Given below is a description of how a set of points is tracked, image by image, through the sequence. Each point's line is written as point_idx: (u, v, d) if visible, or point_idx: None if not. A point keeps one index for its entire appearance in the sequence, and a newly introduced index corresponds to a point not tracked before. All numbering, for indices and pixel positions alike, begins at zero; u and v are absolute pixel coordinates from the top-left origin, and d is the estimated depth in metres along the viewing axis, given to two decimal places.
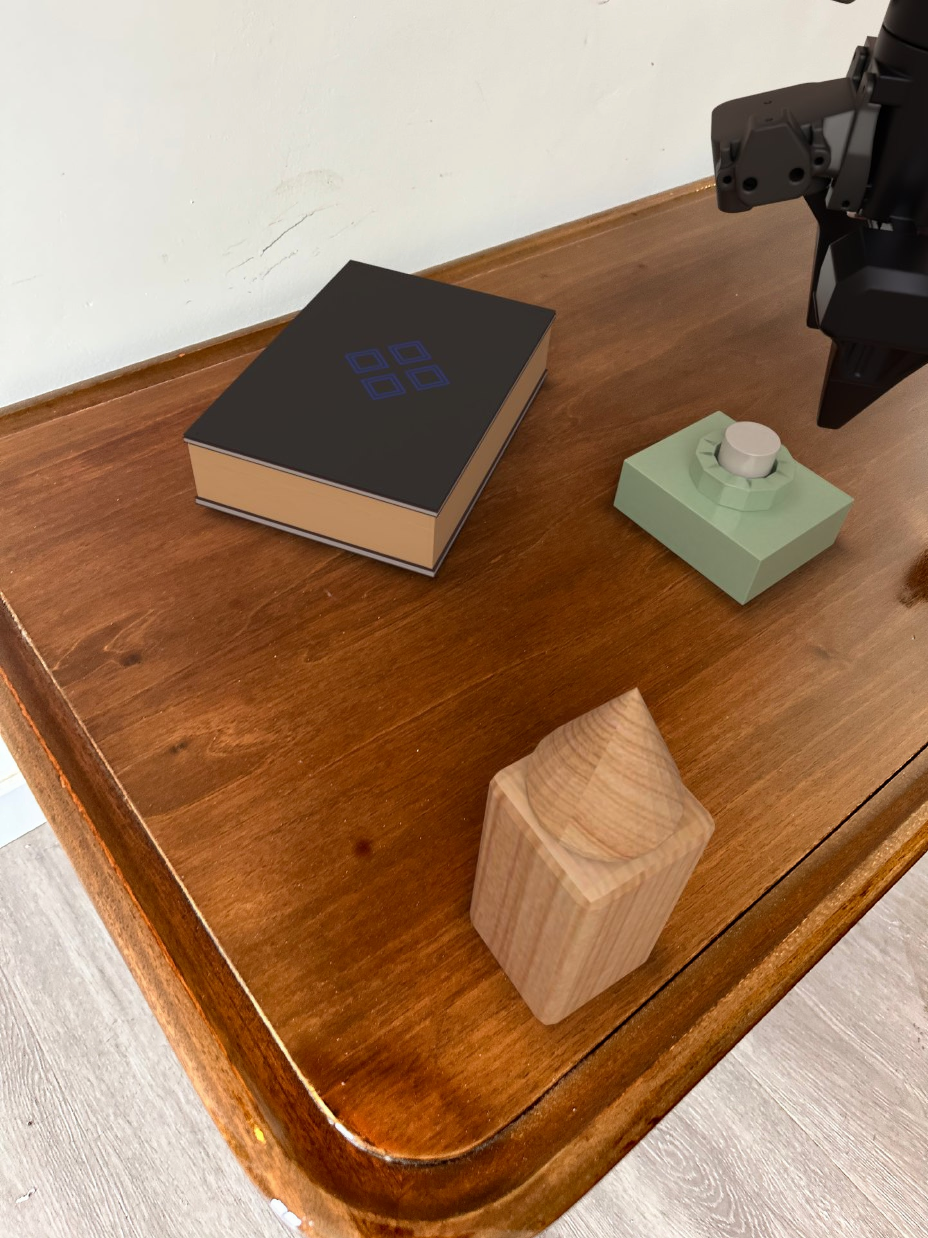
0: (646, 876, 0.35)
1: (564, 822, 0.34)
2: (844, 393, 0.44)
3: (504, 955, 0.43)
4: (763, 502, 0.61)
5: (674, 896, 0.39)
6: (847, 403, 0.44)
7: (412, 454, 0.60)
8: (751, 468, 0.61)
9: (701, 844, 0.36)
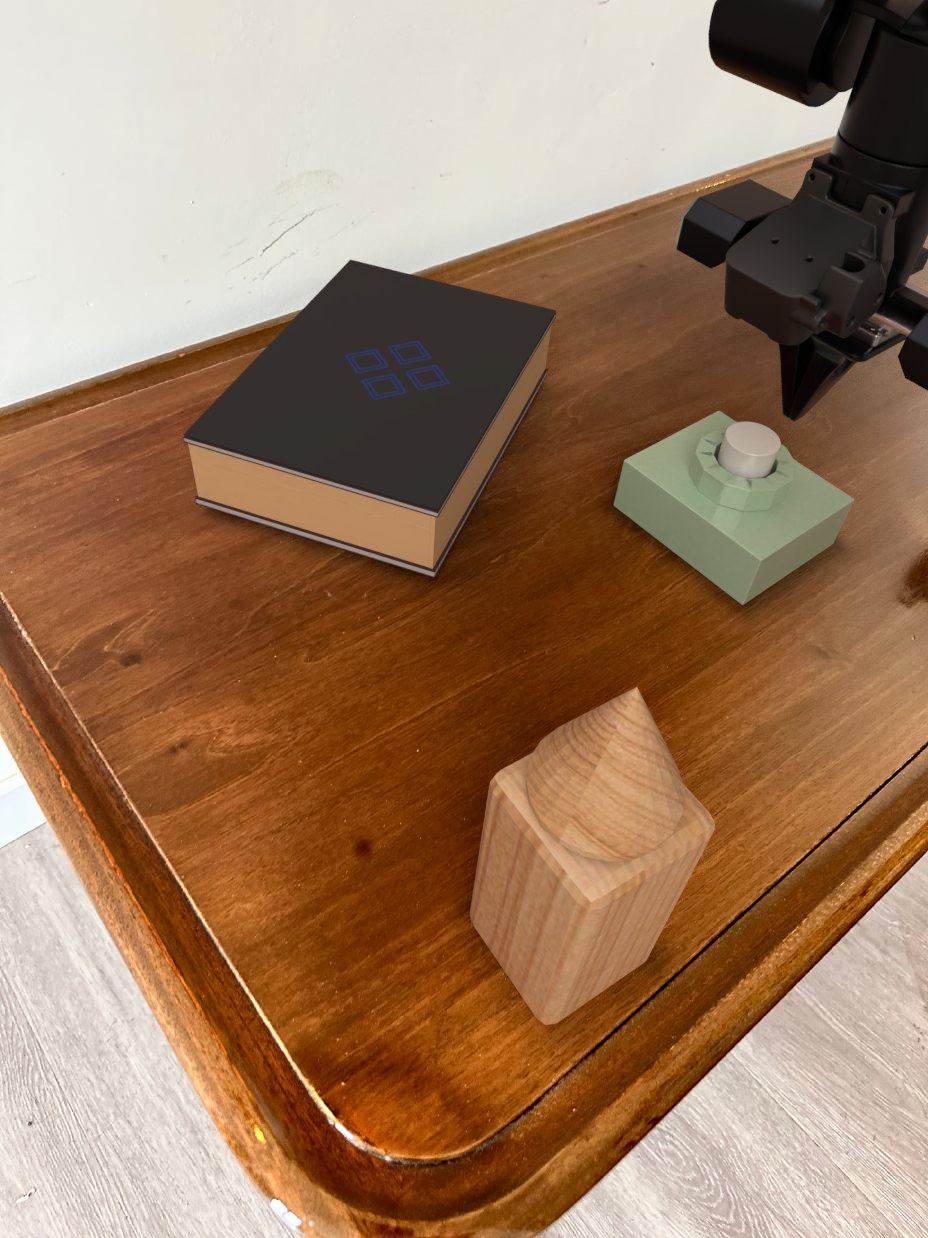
0: (646, 875, 0.35)
1: (564, 822, 0.34)
2: (821, 390, 0.53)
3: (504, 955, 0.43)
4: (763, 502, 0.61)
5: (674, 896, 0.39)
6: (819, 395, 0.54)
7: (412, 454, 0.60)
8: (751, 468, 0.61)
9: (701, 844, 0.36)
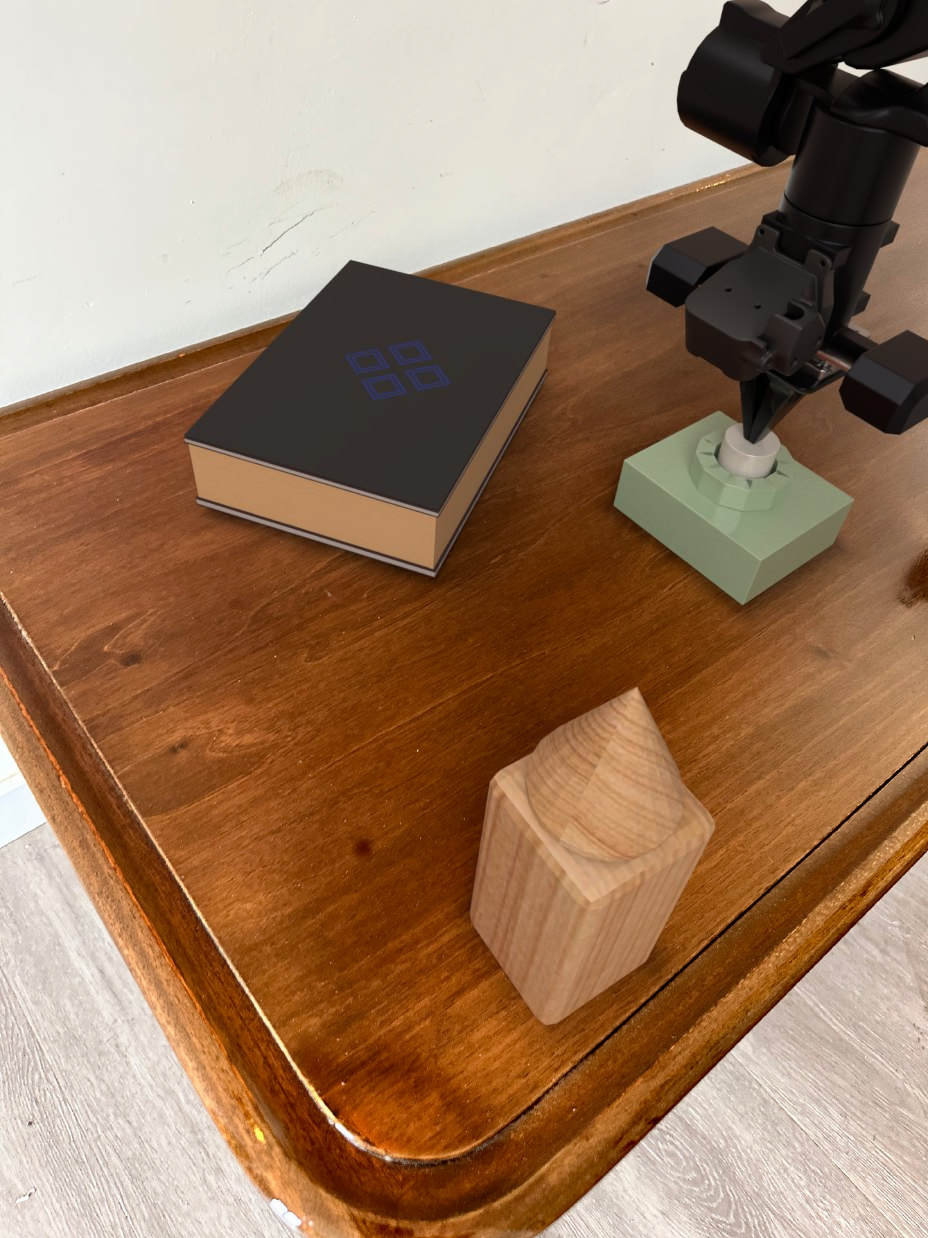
0: (646, 875, 0.35)
1: (564, 822, 0.34)
2: (777, 417, 0.59)
3: (504, 955, 0.43)
4: (763, 502, 0.61)
5: (674, 896, 0.39)
6: (776, 421, 0.60)
7: (413, 454, 0.60)
8: (751, 469, 0.61)
9: (701, 844, 0.36)
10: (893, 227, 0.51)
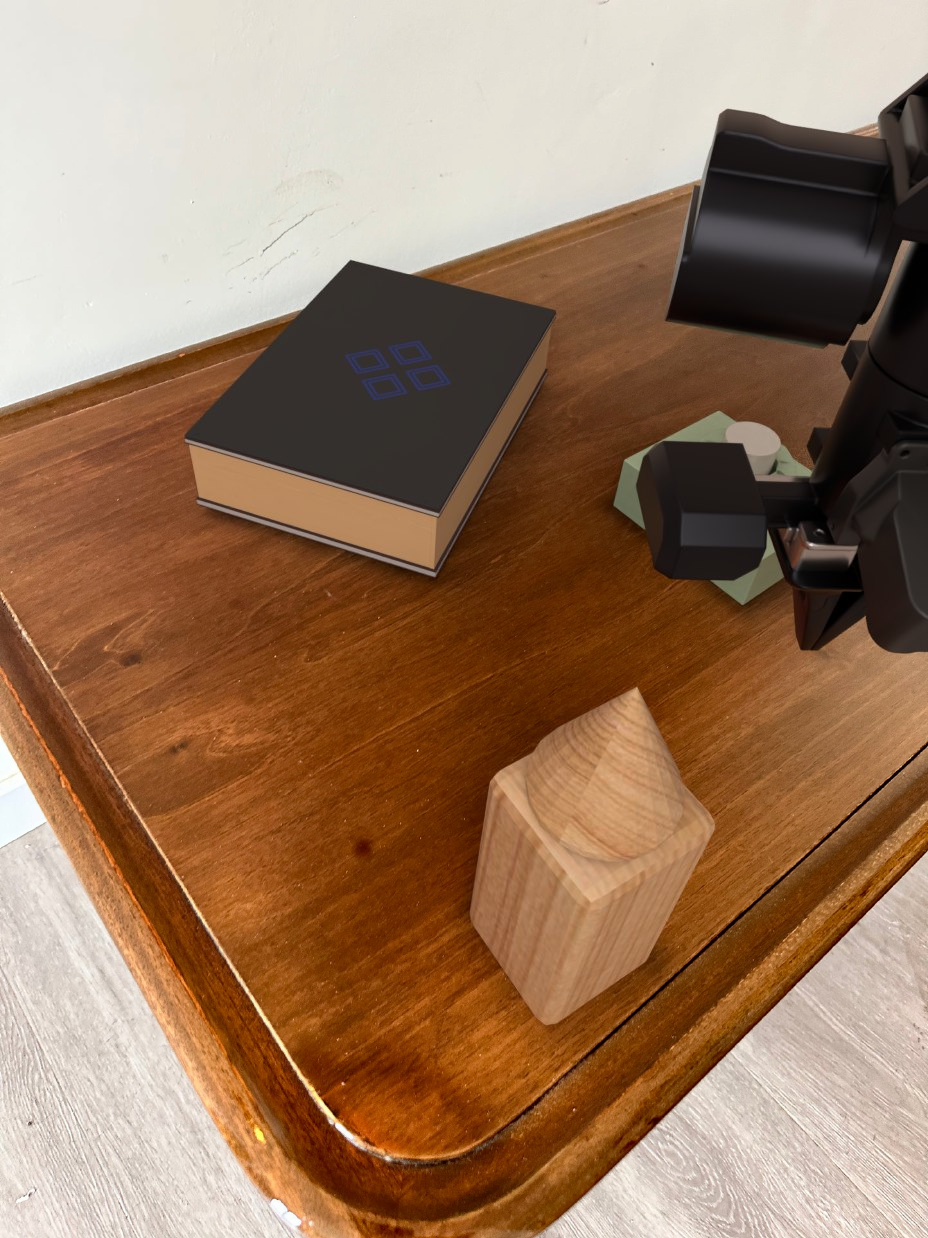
0: (646, 875, 0.35)
1: (564, 822, 0.34)
2: None
3: (504, 955, 0.43)
4: None
5: (674, 896, 0.39)
6: None
7: (413, 454, 0.60)
8: None
9: (701, 844, 0.36)
10: None
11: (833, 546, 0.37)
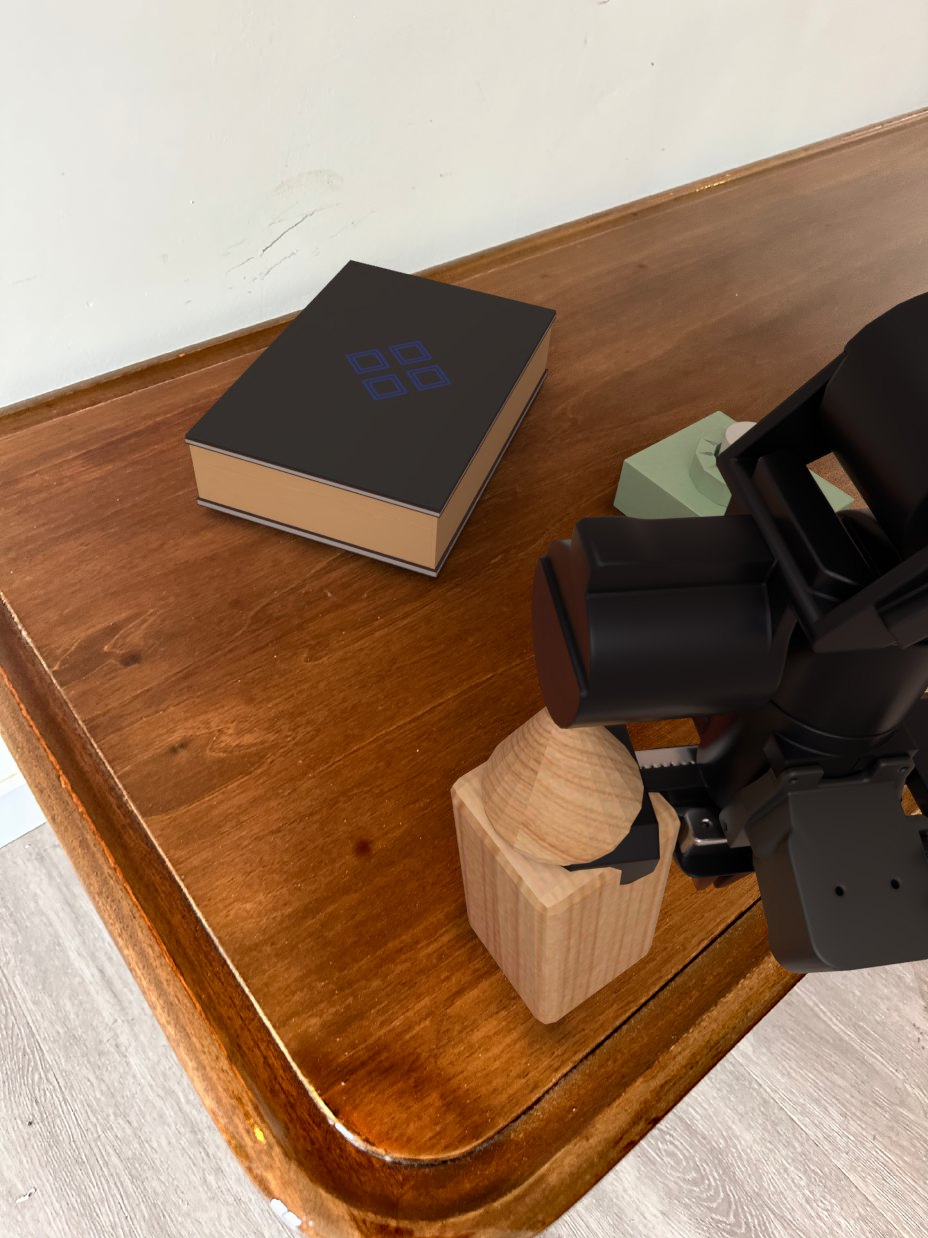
0: (607, 877, 0.34)
1: (515, 829, 0.34)
2: None
3: (499, 956, 0.43)
4: None
5: (654, 891, 0.39)
6: None
7: (414, 454, 0.60)
8: None
9: (665, 840, 0.35)
10: None
11: (721, 840, 0.35)
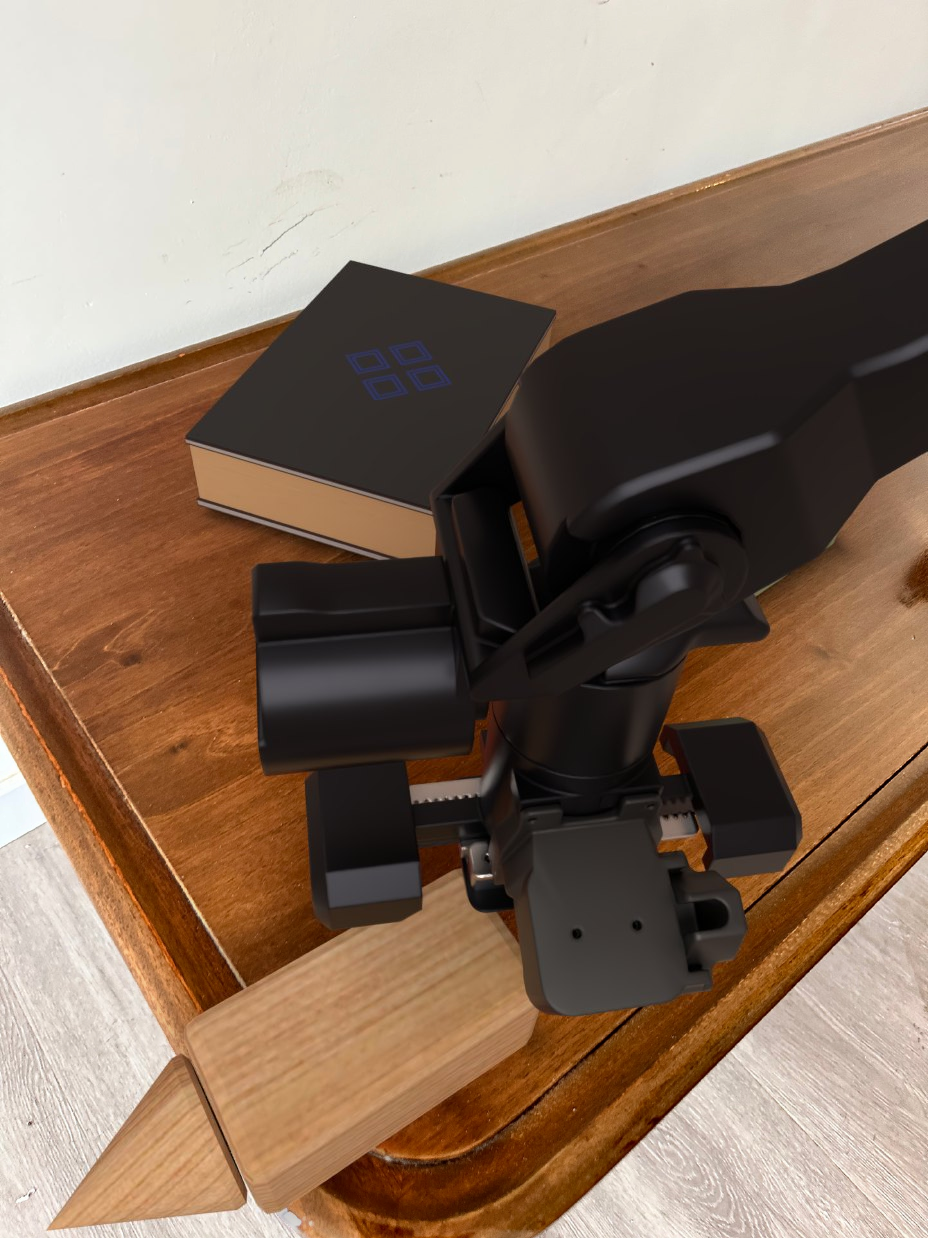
0: (270, 1201, 0.36)
1: None
2: None
3: None
4: None
5: (377, 1111, 0.36)
6: None
7: (414, 454, 0.60)
8: None
9: (268, 1184, 0.34)
10: None
11: None
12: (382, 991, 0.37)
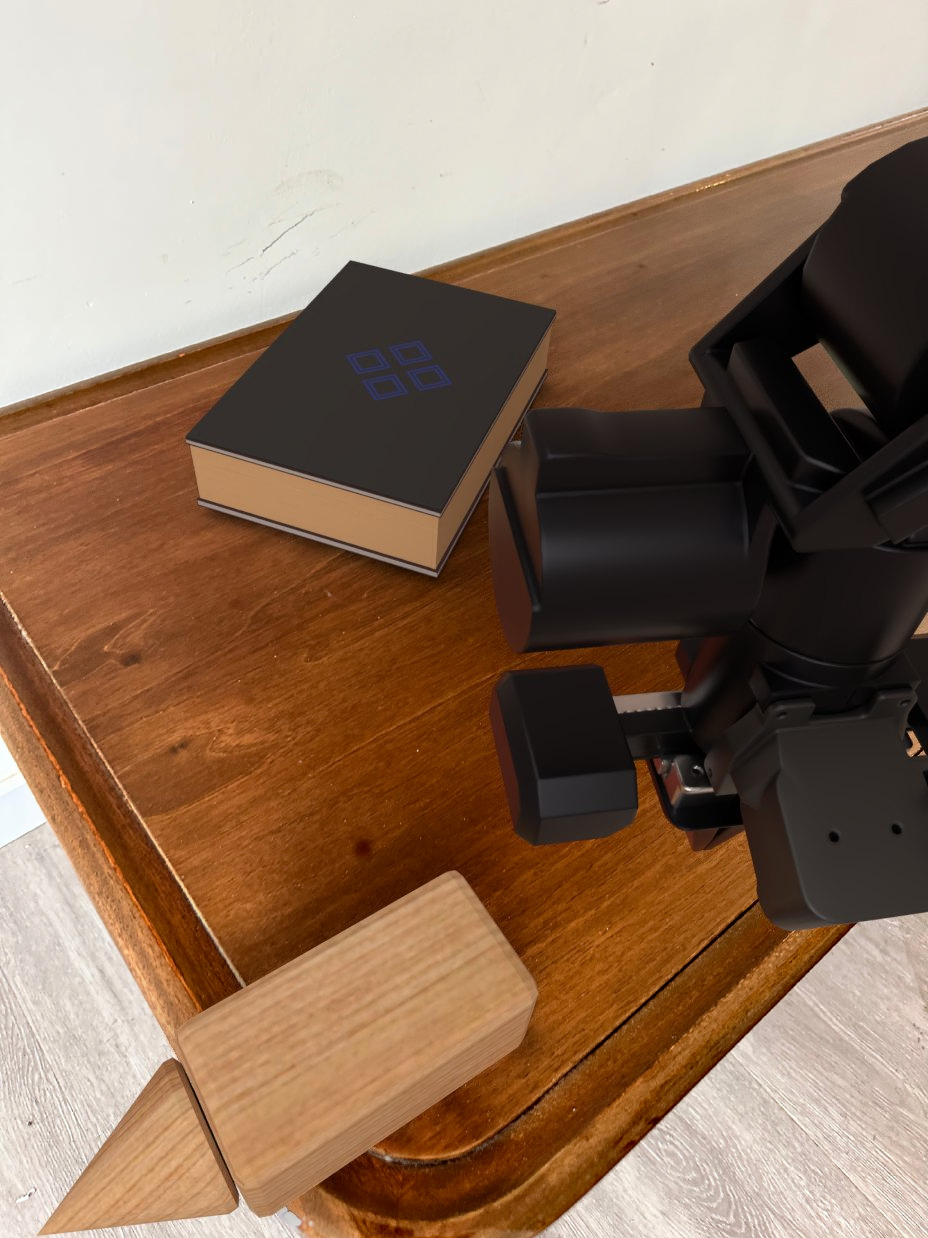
0: (262, 1205, 0.36)
1: None
2: None
3: None
4: None
5: (369, 1115, 0.35)
6: None
7: (415, 454, 0.60)
8: None
9: (260, 1188, 0.34)
10: None
11: None
12: (374, 995, 0.37)
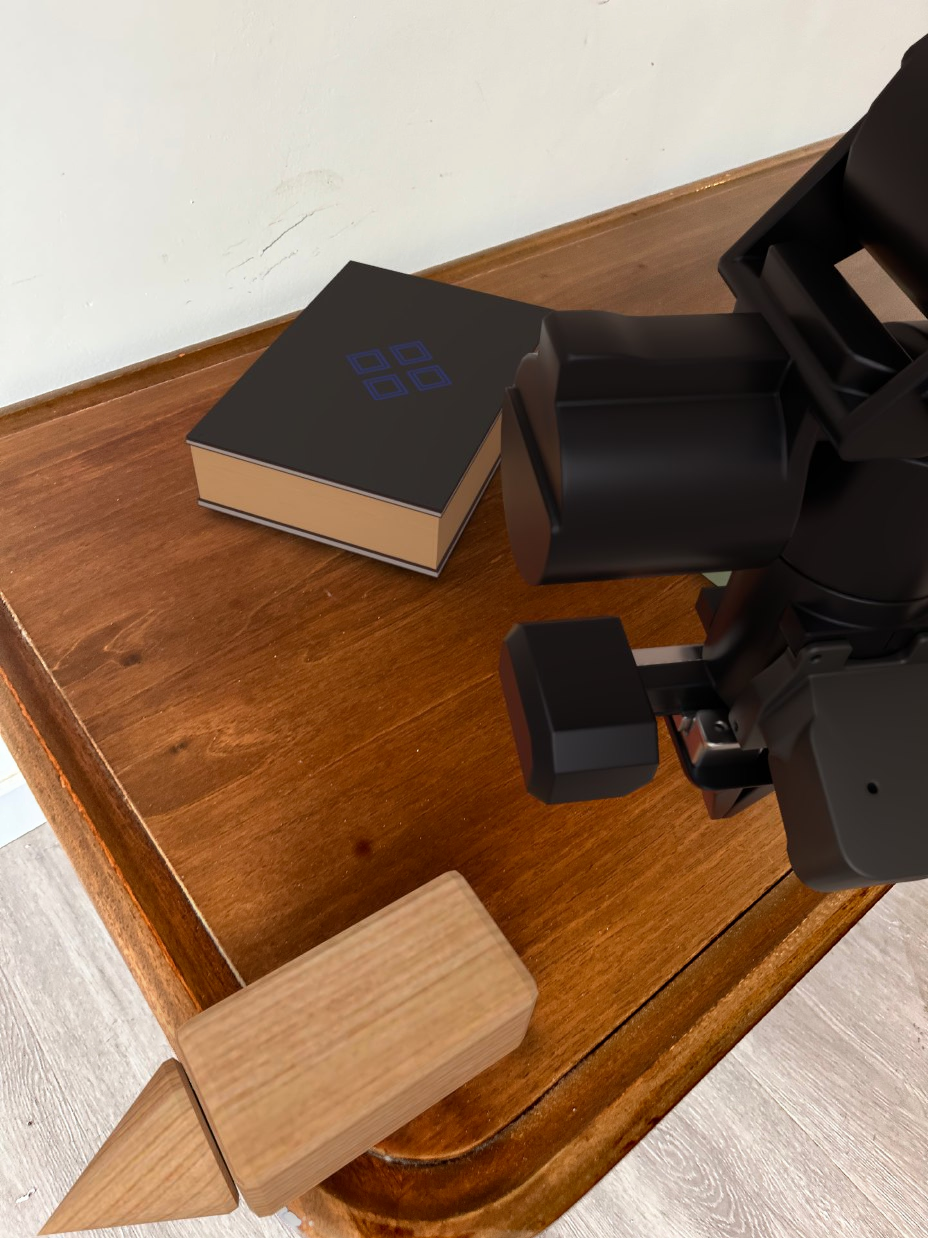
0: (262, 1205, 0.36)
1: None
2: None
3: None
4: None
5: (369, 1115, 0.35)
6: None
7: (415, 455, 0.60)
8: None
9: (260, 1188, 0.34)
10: None
11: (738, 744, 0.30)
12: (374, 994, 0.37)
